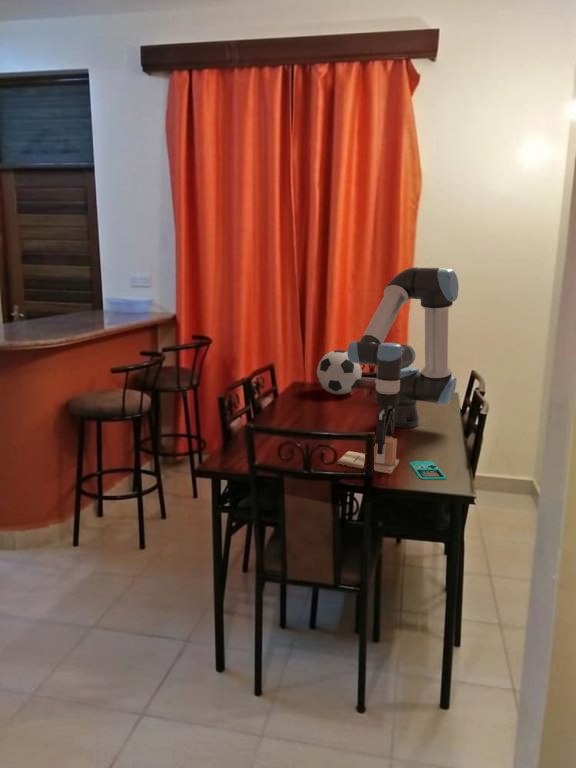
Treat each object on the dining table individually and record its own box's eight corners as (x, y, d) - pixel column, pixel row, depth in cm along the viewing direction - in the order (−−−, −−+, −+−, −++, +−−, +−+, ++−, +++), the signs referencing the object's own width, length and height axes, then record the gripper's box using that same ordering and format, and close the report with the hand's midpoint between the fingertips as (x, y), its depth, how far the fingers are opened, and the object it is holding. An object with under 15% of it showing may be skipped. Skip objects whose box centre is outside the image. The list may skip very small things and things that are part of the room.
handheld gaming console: (432, 460, 195) (447, 477, 180) (432, 463, 195) (447, 480, 180) (408, 460, 194) (421, 477, 179) (408, 463, 194) (420, 481, 180)
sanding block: (375, 458, 194) (376, 435, 192) (395, 461, 191) (397, 438, 189) (370, 463, 189) (372, 440, 188) (391, 466, 187) (393, 443, 185)
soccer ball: (307, 392, 289) (308, 349, 284) (339, 386, 302) (341, 345, 297) (336, 401, 272) (338, 355, 267) (369, 395, 285) (372, 351, 280)
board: (348, 454, 201) (348, 450, 201) (399, 462, 194) (399, 459, 194) (337, 464, 191) (337, 460, 191) (390, 473, 184) (390, 470, 184)
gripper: (384, 383, 195) (380, 447, 201) (366, 397, 177) (363, 466, 182) (406, 386, 192) (402, 451, 198) (390, 399, 174) (386, 470, 179)
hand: (383, 458), depth 190 cm, fingers open, 8 cm apart
